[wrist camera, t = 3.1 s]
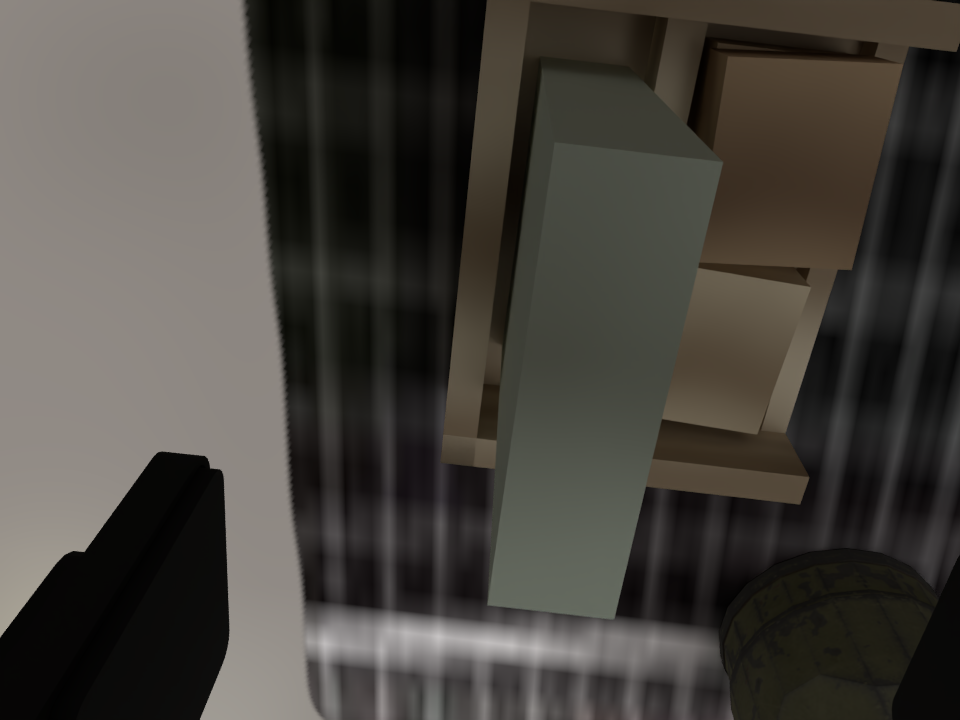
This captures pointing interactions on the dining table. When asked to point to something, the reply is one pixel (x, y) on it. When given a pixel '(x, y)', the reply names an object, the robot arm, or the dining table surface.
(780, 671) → the thermos
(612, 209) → the grey-green flat slab
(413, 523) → the dining table surface
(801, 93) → the offcut
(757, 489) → the rack
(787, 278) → the offcut
